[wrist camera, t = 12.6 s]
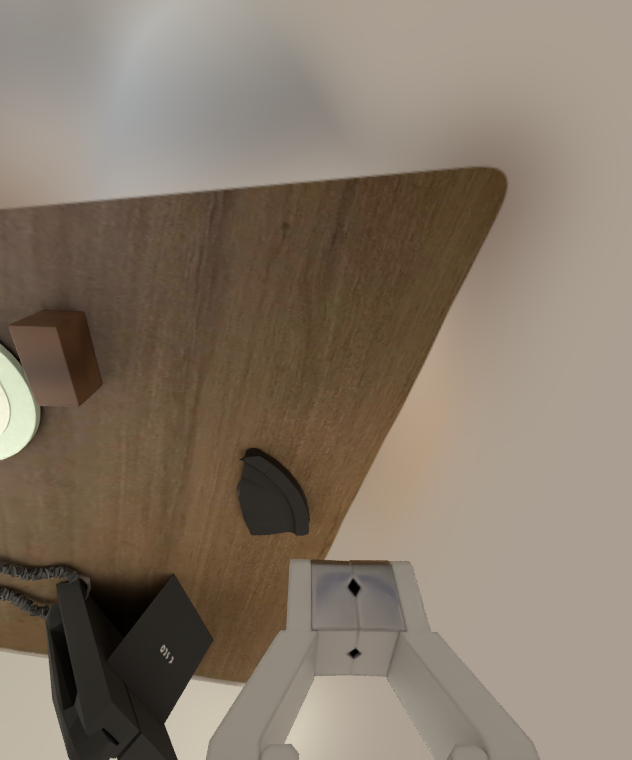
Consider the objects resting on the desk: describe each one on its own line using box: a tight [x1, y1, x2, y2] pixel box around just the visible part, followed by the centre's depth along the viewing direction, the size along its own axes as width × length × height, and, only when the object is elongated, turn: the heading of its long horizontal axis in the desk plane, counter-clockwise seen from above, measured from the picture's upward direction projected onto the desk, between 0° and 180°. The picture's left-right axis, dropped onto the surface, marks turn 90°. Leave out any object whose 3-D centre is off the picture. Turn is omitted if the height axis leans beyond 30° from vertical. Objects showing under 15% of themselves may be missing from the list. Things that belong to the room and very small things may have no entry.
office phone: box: [0, 561, 213, 760], centre depth 47 cm, size 29×28×20 cm
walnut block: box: [8, 310, 102, 407], centre depth 35 cm, size 8×4×4 cm, turn 178°
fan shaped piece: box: [237, 449, 310, 536], centre depth 45 cm, size 8×14×2 cm, turn 6°
